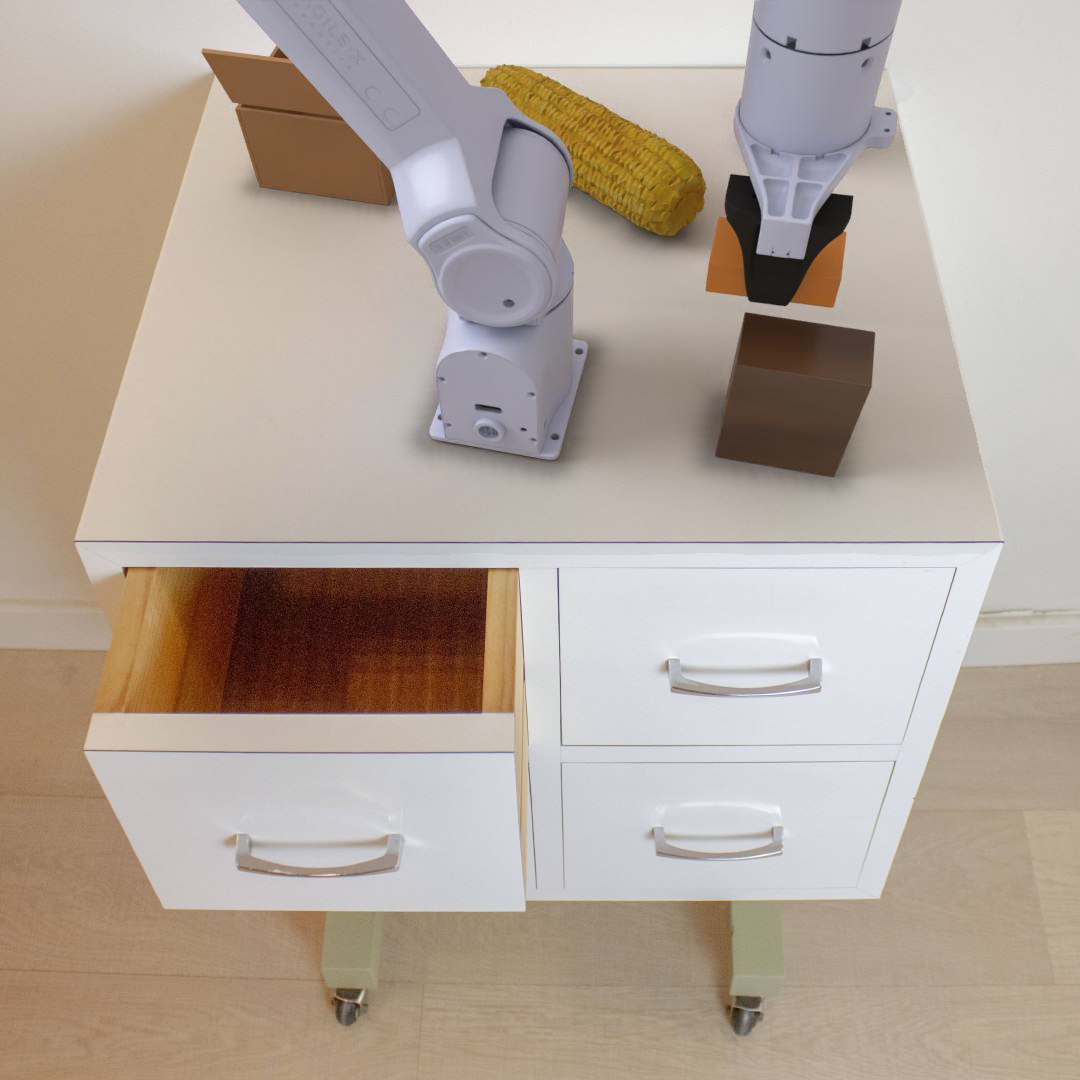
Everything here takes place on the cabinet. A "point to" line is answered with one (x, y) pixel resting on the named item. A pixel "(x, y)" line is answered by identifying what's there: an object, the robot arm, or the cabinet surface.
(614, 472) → the cabinet surface
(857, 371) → the block
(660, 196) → the food
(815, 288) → the block
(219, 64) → the flap
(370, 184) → the bin
